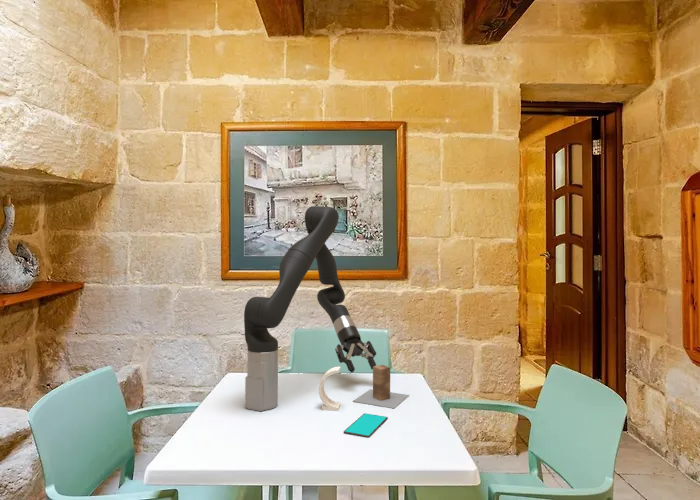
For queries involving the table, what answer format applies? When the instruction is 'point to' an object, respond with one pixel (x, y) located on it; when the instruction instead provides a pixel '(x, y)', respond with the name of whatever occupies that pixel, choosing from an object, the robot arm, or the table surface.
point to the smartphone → (366, 425)
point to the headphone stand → (325, 399)
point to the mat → (389, 403)
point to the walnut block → (381, 382)
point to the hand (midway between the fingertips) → (363, 369)
